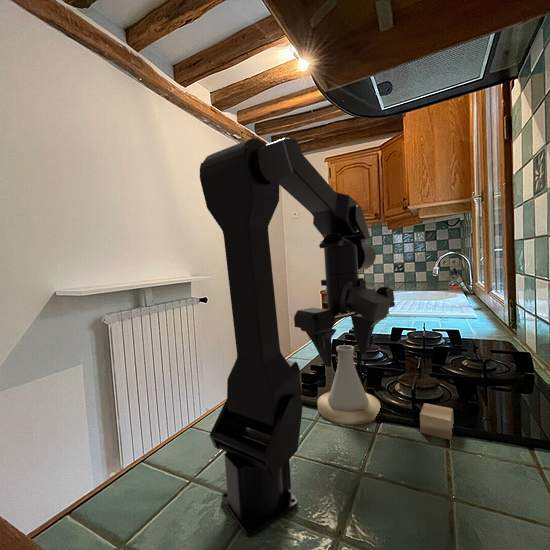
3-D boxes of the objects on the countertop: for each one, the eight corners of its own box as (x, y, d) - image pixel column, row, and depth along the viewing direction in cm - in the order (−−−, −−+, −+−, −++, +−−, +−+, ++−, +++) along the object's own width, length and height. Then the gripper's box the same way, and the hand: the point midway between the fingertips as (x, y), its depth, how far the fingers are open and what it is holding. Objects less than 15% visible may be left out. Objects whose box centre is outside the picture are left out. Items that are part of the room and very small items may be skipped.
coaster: (351, 432, 47) (351, 425, 47) (305, 407, 56) (304, 401, 56) (393, 409, 53) (393, 403, 53) (345, 389, 62) (345, 384, 62)
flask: (371, 413, 50) (368, 353, 49) (326, 411, 51) (323, 353, 51) (367, 394, 57) (364, 341, 57) (328, 393, 58) (325, 342, 58)
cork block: (450, 441, 43) (450, 420, 43) (420, 433, 46) (419, 414, 46) (453, 427, 47) (452, 408, 46) (425, 421, 49) (424, 403, 49)
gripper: (339, 278, 42) (345, 389, 42) (414, 269, 52) (417, 358, 53) (289, 277, 51) (295, 369, 51) (361, 270, 61) (365, 345, 62)
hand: (346, 360), depth 54 cm, fingers open, 9 cm apart
